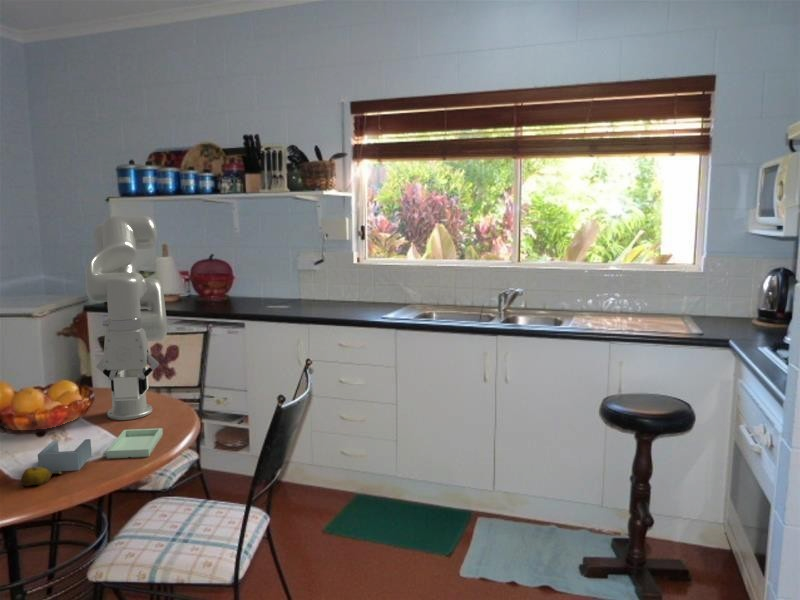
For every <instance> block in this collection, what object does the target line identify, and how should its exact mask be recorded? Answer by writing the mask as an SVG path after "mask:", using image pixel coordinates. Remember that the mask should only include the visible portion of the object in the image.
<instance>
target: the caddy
mask: <svg viewBox="0 0 800 600" xmlns="http://www.w3.org/2000/svg"><path fill="white" fill-rule="evenodd" d="M145 368H146V370H147V369H148V366H145ZM139 379H140V376H139V374H138V371H137V370H122V371H121V372H120V373H118V374H117V375H116V376H115V377H114V378H113V381H114V395H115V401H123V400H138V399H139V398H140V397H141V396H142V395H143V394H144V393H145V392H146V393H147V391H148V390H149V375H148V376H147V377H146V379H147V390H145V392H144V393H143V394H139Z"/></svg>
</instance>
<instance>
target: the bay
mask: <svg viewBox="0 0 800 600" xmlns="http://www.w3.org/2000/svg"><path fill="white" fill-rule="evenodd" d="M91 441H92V440H91V439H90V438H87V439H84V440H83V441H82V442H81V443H80V445H78V446H77V447H76V448H75V450H70V451H67V450H65V451H64V450H63V451H60V450H59V449H60V448H59V440H52V441H50V443H49V444H47V445H46V446H45V447H44V448H43V449H42V450H41V451H39V453H37V461H38V468H39V467H43V468H45V469H47V470H48V471H52V472H57V471H61V472H70V471H71V472H73V471H75V472H76V471H80V470H81V469H82V468H83V466H84V465H85V464H86V463H88V461H89V459H90V458H91V457H92V456H93V455H92V454H93V453H92V442H91ZM91 455H92V456H91Z"/></svg>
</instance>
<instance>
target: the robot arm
mask: <svg viewBox="0 0 800 600" xmlns="http://www.w3.org/2000/svg"><path fill="white" fill-rule="evenodd" d="M157 238H158V230H157V225H156V223H155V221H154V219H153V218H151V217H150V216H148V215H114V216H110V217H108V218H107V219H105V220H104V221H103V223H100V224H98V225H96V226H95V227H94V228H93V241H94V246H95V249H96V252H97V253H96V254H94V256H92V258H90V260H89V261H88V262H87V265H86V268H85V292H86V295H87V297H88V299H89V300H90V301H92V302H95V303H106V302H107V316H106V317H105V318H104V320H103V321H102V326H103V331H104V343H103V344H104V345H103V358H102V359H101V360H100V361H99V362H98V363H97V364H96V365H95V368H96V369H98V371H100V372H102V374H103V375H105V376H106V377H107V378H108V379H109V380H108V381H110V389H111V401H112V405H111V406H112V407H111V408H110V409H108V411H107V417H108V418H109V419H111V420H115V421H117V420H118V421H127V420H128V421H129V420H135V419H140V418H143V417H145V416H148V415H150V414H151V413H152V412H153V407H152V405H150V404H148V403H147V391H148V389H147V379H146V377H147V376H148V377H149V375H150V374H151V373H152V372H153V371H154V370H155V369H157V368H158V366H160V363H159V361H157V360H156V358H154V357H153V356H152V355H151V354H150V350H149V343H148V342H158V341H162V340H164V339H165V338H166V336H167V334H168V320H167V312H166V311H167V309H166V302H165V293H164V288H163V286H162V282H161V281H160V280H158V279H157V278H151V277H147V278H145V277H143V275H142V274H141V273H140V272H137V270H136V265H135V264H134V262H135V260H136V259H137V255H138V254H137V250H150V249H151V250H152V248H154V247H155V245H156V242H157ZM149 364H150V366H149V367H147V365H149ZM145 367H147V370H146V368H145ZM122 370H137V371H138V374H139V376H140V379H139V394H143V393H144V392H145V390H147V391H146V392H145V393H144V394H143V395H142V396H141V397H140V398H139V399H138V400H123V401H115V395H114V381H113V378H114V377H115V376H116V375H117V374H118V373H120V372H121V371H122Z"/></svg>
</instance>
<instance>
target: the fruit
mask: <svg viewBox="0 0 800 600" xmlns="http://www.w3.org/2000/svg"><path fill="white" fill-rule="evenodd" d="M53 474H54V475H59V476H61V475H62V474H63V471H55V472H52V471H48V470H47V469H45V468H43V467H39V466H38V467H37V466H36V467H30V468H27V469H26V470H24V471H23V473H22V475H21V480H20V481H21V482H20V483H21V485H22V487H23V488H25V487H30V486H32V485H35V486H42V485H46V484H47V483H48V482H49V481H51V476H52V475H53Z"/></svg>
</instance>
